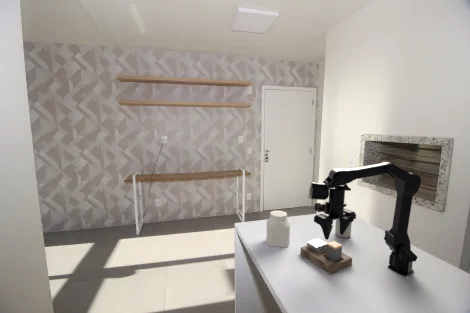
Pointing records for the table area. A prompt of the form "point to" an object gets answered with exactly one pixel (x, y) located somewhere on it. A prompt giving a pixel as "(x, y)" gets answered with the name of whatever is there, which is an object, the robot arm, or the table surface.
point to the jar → (278, 229)
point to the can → (347, 232)
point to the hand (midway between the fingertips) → (334, 236)
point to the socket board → (326, 260)
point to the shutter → (317, 245)
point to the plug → (333, 251)
